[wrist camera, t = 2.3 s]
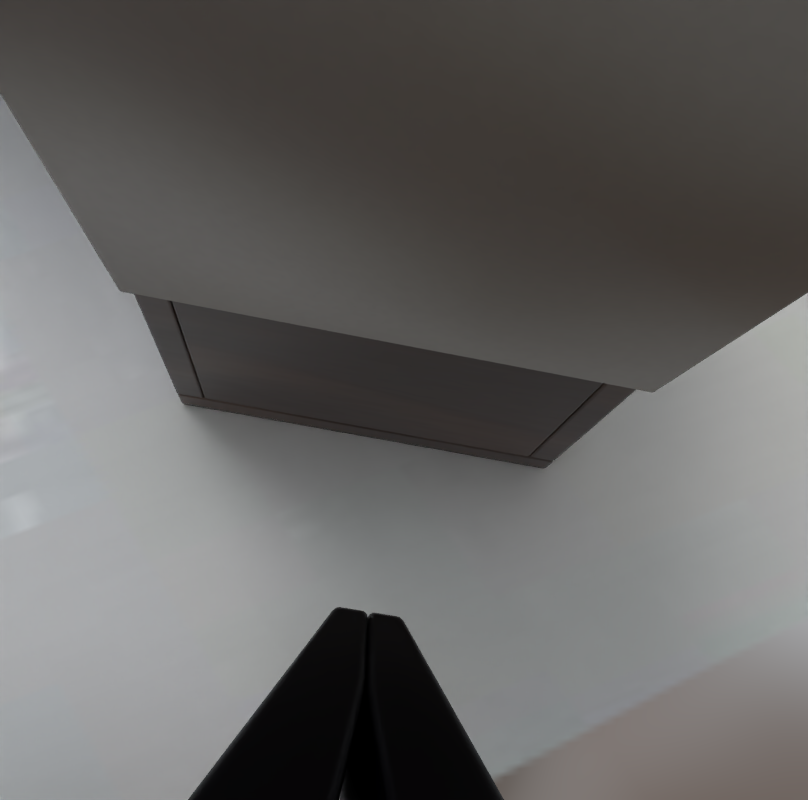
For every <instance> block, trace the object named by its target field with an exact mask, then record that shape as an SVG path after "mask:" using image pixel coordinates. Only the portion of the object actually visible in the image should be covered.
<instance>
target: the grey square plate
mask: <svg viewBox="0 0 808 800" xmlns="http://www.w3.org/2000/svg"><path fill="white" fill-rule="evenodd" d="M0 93H1V95H2V97H3V98H4V100H5V102H6V103H7V105H8V107H9V108H10V110H11V112H12V113H13V115H14V117H15V118H16V120H17V122H18V123H19V125H20V127H21V128H22V130H23V132H24V133H25V135H26V136H27V138H28V140H29V141H30V143H31V145H32V146H33V148H34V150H35V151H36V153H37V155H38V156H39V158H40V160H41V161H42V163H43V165H44V166H45V168H46V170H47V171H48V173H49V175H50V176H51V178H52V180H53V181H54V183H55V184H56V186H57V188H58V189H59V191H60V193H61V194H62V196H63V198H64V199H65V201H66V203H67V204H68V206H69V208H70V209H71V211H72V213H73V214H74V216H75V218H76V219H77V221H78V223H79V224H80V226H81V228H82V229H83V231H84V233H85V234H86V236H87V237H88V239H89V241H90V242H91V244H92V246H93V247H94V249H95V251H96V252H97V254H98V256H99V257H100V259H101V261H102V262H103V264H104V266H105V267H106V269H107V271H108V272H109V274H110V276H111V277H112V279H113V281H114V282H115V284H116V285H117V287H118V289H119V290H120V291H122V292H127V293H132V294H138V295H143V296H148V297H153V298H159V299H164V300H169V301H174V302H180V303H185V304H190V305H195V306H201V307H206V308H211V309H216V310H222V311H227V312H232V313H237V314H243V315H248V316H253V317H258V318H264V319H269V320H274V321H279V322H285V323H290V324H295V325H301V326H306V327H311V328H316V329H322V330H327V331H332V332H337V333H343V334H348V335H353V336H358V337H364V338H369V339H374V340H379V341H385V342H390V343H395V344H400V345H406V346H411V347H416V348H421V349H427V350H432V351H437V352H442V353H448V354H453V355H458V356H463V357H469V358H474V359H479V360H484V361H490V362H495V363H500V364H505V365H511V366H516V367H521V368H526V369H532V370H537V371H542V372H547V373H553V374H558V375H563V376H568V377H574V378H579V379H584V380H589V381H595V382H600V383H605V384H610V385H616V386H621V387H626V388H631V389H637V390H642V391H647V392H655V391H656V390H658V389H659V388H661V387H662V386H664V385H665V384H667V383H669V382H670V381H672V380H673V379H675V378H676V377H678V376H679V375H681V374H683V373H684V372H686V371H687V370H689V369H690V368H692V367H693V366H695V365H696V364H698V363H700V362H701V361H703V360H704V359H706V358H707V357H709V356H710V355H712V354H714V353H715V352H717V351H718V350H720V349H721V348H723V347H724V346H726V345H727V344H729V343H731V342H732V341H734V340H735V339H737V338H738V337H740V336H741V335H743V334H744V333H746V332H748V331H749V330H751V329H752V328H754V327H755V326H757V325H758V324H760V323H762V322H763V321H765V320H766V319H768V318H769V317H771V316H772V315H774V314H775V313H777V312H779V311H780V310H782V309H783V308H785V307H786V306H788V305H789V304H791V303H793V302H794V301H796V300H797V299H799V298H800V297H802V296H803V295H805V294H806V293H808V0H0Z"/></svg>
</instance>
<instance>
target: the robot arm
mask: <svg viewBox="0 0 808 800" xmlns="http://www.w3.org/2000/svg"><path fill="white" fill-rule="evenodd" d="M339 798H340V800H504V799H503V797H502V796H501V794H500V792H499V790H498V789H497V787H496V785H495V783H494V781H493V779H492V778H491V776H490V774H489V772H488V771H487V769H486V767H485V765H484V763H483V762H482V760H481V758H480V756H479V755H478V753H477V751H476V749H475V747H474V746H473V744H472V742H471V740H470V739H469V737H468V735H467V733H466V731H465V730H464V728H463V726H462V724H461V723H460V721H459V719H458V717H457V715H456V714H455V712H454V710H453V708H452V707H451V705H450V703H449V701H448V699H447V698H446V696H445V694H444V692H443V691H442V689H441V687H440V685H439V683H438V682H437V680H436V678H435V676H434V675H433V673H432V671H431V669H430V667H429V666H428V664H427V662H426V660H425V658H424V657H423V655H422V653H421V651H420V650H419V648H418V646H417V644H416V642H415V641H414V639H413V637H412V635H411V634H410V632H409V630H408V628H407V626H406V625H405V623H404V621H403V620H402V619H401V618H400V617H397V616H391V615H385V614H379V613H372V614H370V615H369V616H368V617H367V614H366V613H365V612H364V611H360V610H354V609H348V608H341V607H338V608H335V609H334V610H333V611H332V612H331V613H330V615H329V616H328V617H327V619H326V620H325V621H324V622H323V624H322V625H321V626H320V628H319V629H318V630H317V632H316V633H315V634H314V636H313V637H312V638H311V639H310V641H309V642H308V643H307V645H306V646H305V647H304V649H303V650H302V651H301V653H300V654H299V655H298V656H297V658H296V659H295V660H294V662H293V663H292V664H291V666H290V667H289V668H288V670H287V671H286V672H285V673H284V675H283V676H282V677H281V679H280V680H279V681H278V683H277V684H276V685H275V687H274V688H273V689H272V690H271V692H270V693H269V694H268V696H267V697H266V698H265V700H264V701H263V702H262V704H261V705H260V706H259V707H258V709H257V710H256V711H255V713H254V714H253V715H252V717H251V718H250V719H249V721H248V722H247V723H246V724H245V726H244V727H243V728H242V730H241V731H240V732H239V734H238V735H237V736H236V738H235V739H234V740H233V741H232V743H231V744H230V745H229V747H228V748H227V749H226V751H225V752H224V753H223V755H222V756H221V757H220V758H219V760H218V761H217V762H216V764H215V765H214V766H213V768H212V769H211V770H210V772H209V773H208V774H207V775H206V777H205V778H204V779H203V781H202V782H201V783H200V785H199V786H198V787H197V789H196V790H195V791H194V792H193V794H192V795H191V796H190V798H189V799H188V800H339Z"/></svg>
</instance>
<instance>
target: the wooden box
mask: <svg viewBox="0 0 808 800" xmlns="http://www.w3.org/2000/svg"><path fill="white" fill-rule="evenodd" d="M134 295H135V297H136V299H137V302H138V304H139V306H140V309H141V311H142V313H143V316H144V318H145V320H146V322H147V325H148V327H149V329H150V332H151V334H152V336H153V338H154V341H155V343H156V345H157V348H158V350H159V352H160V355H161V357H162V359H163V361H164V364H165V366H166V368H167V371H168V373H169V375H170V378H171V380H172V382H173V384H174V387H175V389H176V391H177V393H178V395H179V397H180V400H181V402H182V403H184V404H189V405H194V406H200V407H205V408H211V409H217V410H222V411H228V412H233V413H239V414H244V415H250V416H256V417H261V418H267V419H272V420H278V421H283V422H289V423H295V424H300V425H306V426H311V427H317V428H323V429H328V430H334V431H339V432H345V433H350V434H356V435H362V436H367V437H373V438H378V439H384V440H389V441H395V442H401V443H406V444H412V445H417V446H423V447H429V448H434V449H440V450H445V451H451V452H456V453H462V454H468V455H473V456H479V457H484V458H490V459H495V460H501V461H507V462H512V463H518V464H523V465H529V466H534V467H540V468H546V467H547V466H548V465H549V464H551V463H552V462H553V460H555V459H556V458H558V457H559V456H560V455H561V454H562V453H563V452H564V451H566V450H567V449H568V448H569V447H570V446H571V445H573V444H574V443H575V442H576V441H577V440H578V439H580V438H581V437H582V436H583V435H584V434H585V433H587V432H588V431H589V430H590V429H591V428H592V427H594V426H595V425H596V424H597V423H598V422H599V421H600V420H602V419H603V418H604V417H605V416H606V415H607V414H609V413H610V412H611V411H612V410H613V409H614V408H616V407H617V406H618V405H619V404H620V403H621V402H623V401H624V400H625V399H626V398H627V397H628V396H629V395H631V394H632V393H633V392H634V391H635V390H636V389H631V388H626V387H621V386H616V385H610V384H605V383H600V382H595V381H589V380H584V379H579V378H574V377H568V376H563V375H558V374H553V373H547V372H542V371H537V370H532V369H526V368H521V367H516V366H511V365H505V364H500V363H495V362H490V361H484V360H479V359H474V358H469V357H463V356H458V355H453V354H448V353H442V352H437V351H432V350H427V349H421V348H416V347H411V346H406V345H400V344H395V343H390V342H385V341H379V340H374V339H369V338H364V337H358V336H353V335H348V334H343V333H337V332H332V331H327V330H322V329H316V328H311V327H306V326H301V325H295V324H290V323H285V322H279V321H274V320H269V319H264V318H258V317H253V316H248V315H243V314H237V313H232V312H227V311H222V310H216V309H211V308H206V307H201V306H195V305H190V304H185V303H180V302H174V301H169V300H164V299H159V298H153V297H148V296H143V295H138V294H134Z"/></svg>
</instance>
